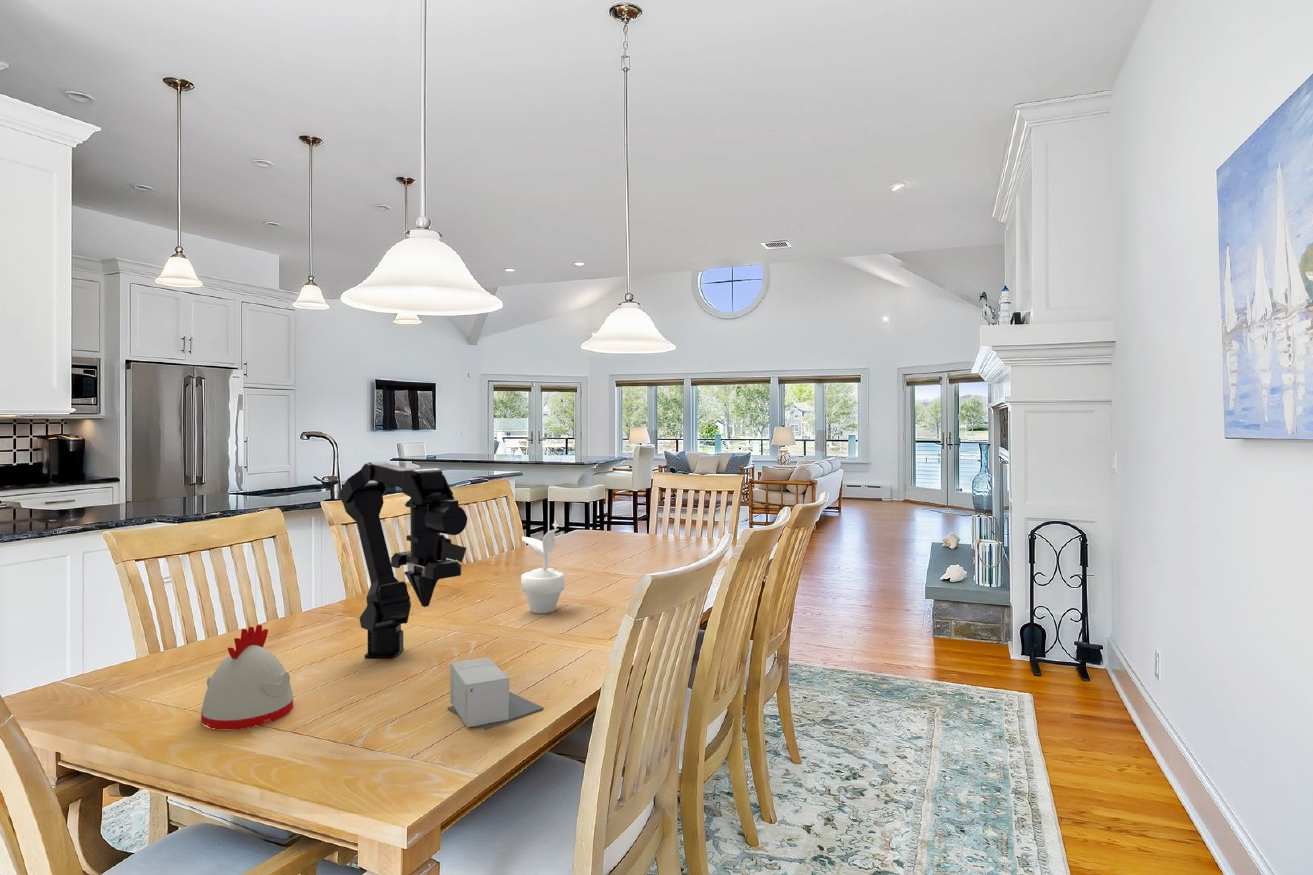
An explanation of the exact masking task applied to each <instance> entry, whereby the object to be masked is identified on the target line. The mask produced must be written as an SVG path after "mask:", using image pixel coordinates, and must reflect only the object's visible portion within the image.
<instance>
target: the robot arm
mask: <svg viewBox="0 0 1313 875" xmlns="http://www.w3.org/2000/svg"><path fill="white" fill-rule="evenodd" d="M389 486H391V487H392V486H393V487H396V488H400V489H401V492H402V493H403V494H404V495H406V496H407V497H409V498H410V499H409V500H407V501H406V502H405V504H404V506H405V507H407V508H409V509H410V512H409V513H410V517H409V518H410V534H407V535H406V541H408V542H410V550H409V551H400V552H395V553H394V554H393V555H392V556H391V557H390V555H389V554H390V552H389V550H388V547H387V546H388V545H387V542H386V539H385V533H384V530H383V526H382V521H381V518H380V514H381V511H382V508H383V506H384V495H385V494H386V492H387V491H388V489H389ZM339 497H340V501H341V502H342V505H343V507H344V508H343V509H344V511H345V513H346V514H347V515H348V516H349V517H350V518H351V519H352V520H353V521H354V522H355V523H356V526H357V530H358V535H359V539H360V542H361V548H362V551H363V555H364V560H365V564H366V565H365V566H366V569H367V571H368V572H367V573H368V577H369V580H370V586H369V589H368V592H367V595H366V604H367V606H366V607H365V609H364V610H363V612H362V614H361V615H360V617H359V622H360V628H362V629H364V630H367V653H365V654H364V659H365V658H368V659H369V658H375V659H376V658H377V659H378V658H385V659H386V658H387V659H388V658H396V657H397V656H398V655H399V654H401V652H402V651H403V650H404V649H405V647H404V630H402V624H403V625H404V624H407V623H408V621H409V618H410V617H409V616H410V612H411V608H412V603H411V602H412V601H411V596H410V595H409V591H408V585H407V583H406V582H405V581H404V580H403V581H399V580H398V579H397V578H396V577H395V575H394V570H393V568H394V569H400V568H401V566H407V570H406V571H404V572H403V573H404V575H405V576H406V578H407V579H408V581H409V583H410V585H411V587H412V588H413V591H414V593H415V594H416V597H417V599H418V600H419V602H420V605H421V606H422V607H423V608H425V607H429V606H430V603H431V600H432V597H433V594H434V590H435V588H436V585H437V583H438V581H439V580H442V579H448V578H454V577H460V576H462V564H460V562H461V563H463V560H464V558H465V555H466V552H467V549H468V548H467V547H466V546H461V545H458V544H454V543H452V539H451V538H448V537H447V538H446V536H445V535H450V536H458V535H459V534H461V533H462V532H464V530H465V529H466V527H467V524H468V516H467V514H466V511H465V510H464V508H462V507H461V506H459V500H458V499H455V497H454V492H453V491H452V489H451V487H450V485H449V483H448V481H447V479H446V477H445V475H444V472H443V470H441V469H440V468H437V467H436V468H422V469H421V468H420V469H412V468H410V467H409V468H408V467H404V466H399V465H395V464H391V463H388V462H386V461H370V462H369V461H368V462H367V463H364V464H363V465H362V467H361V469H360V470H358V471H357V472H355V473H354V474H353V475H351V476H350V477H348V478H347V479H346V481H345V483H344V484H343V486H342V487H341V489H340V492H339Z"/></svg>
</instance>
